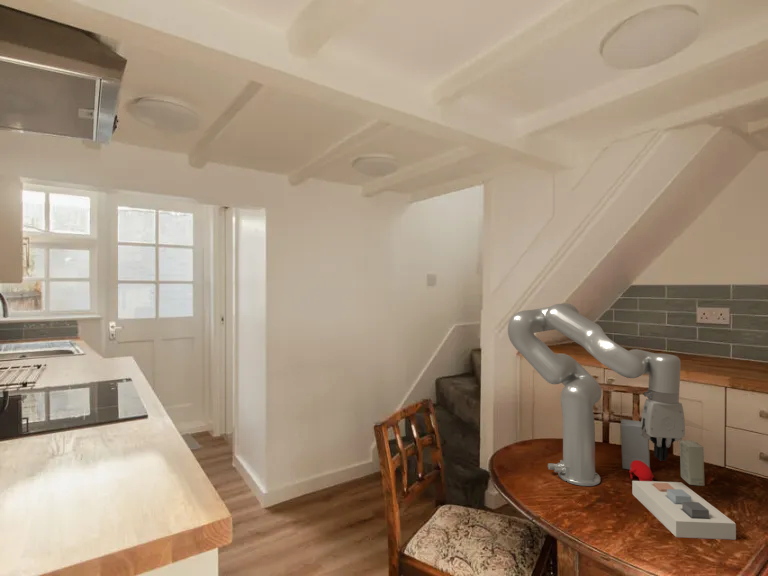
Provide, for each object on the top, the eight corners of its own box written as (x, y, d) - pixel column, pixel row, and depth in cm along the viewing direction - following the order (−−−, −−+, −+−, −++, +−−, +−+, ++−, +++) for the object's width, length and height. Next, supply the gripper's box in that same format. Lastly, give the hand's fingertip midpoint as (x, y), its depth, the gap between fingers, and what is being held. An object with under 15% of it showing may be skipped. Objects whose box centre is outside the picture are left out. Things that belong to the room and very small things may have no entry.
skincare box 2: (705, 486, 132) (704, 447, 132) (689, 485, 133) (688, 446, 133) (694, 477, 138) (694, 440, 138) (679, 476, 139) (679, 439, 139)
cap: (622, 465, 141) (627, 462, 136) (639, 459, 141) (645, 455, 136) (636, 490, 136) (642, 488, 131) (654, 484, 136) (660, 482, 131)
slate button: (675, 507, 114) (675, 496, 114) (667, 499, 118) (666, 489, 118) (691, 507, 114) (691, 496, 114) (682, 500, 118) (682, 489, 118)
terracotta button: (660, 499, 121) (660, 489, 121) (653, 492, 125) (653, 482, 125) (675, 500, 121) (675, 489, 121) (667, 493, 125) (667, 483, 125)
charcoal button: (692, 521, 107) (692, 509, 107) (682, 513, 111) (682, 501, 111) (708, 522, 107) (708, 510, 107) (698, 513, 111) (698, 502, 111)
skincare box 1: (649, 467, 146) (649, 421, 146) (649, 474, 140) (649, 427, 140) (621, 461, 151) (621, 417, 151) (620, 469, 145) (620, 423, 145)
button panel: (676, 537, 106) (676, 521, 106) (632, 493, 128) (632, 480, 128) (735, 539, 105) (735, 523, 105) (681, 495, 126) (681, 482, 126)
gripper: (643, 399, 120) (640, 463, 121) (698, 401, 119) (695, 466, 119) (630, 392, 127) (627, 452, 128) (682, 394, 126) (679, 455, 127)
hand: (660, 458), depth 124 cm, fingers closed
